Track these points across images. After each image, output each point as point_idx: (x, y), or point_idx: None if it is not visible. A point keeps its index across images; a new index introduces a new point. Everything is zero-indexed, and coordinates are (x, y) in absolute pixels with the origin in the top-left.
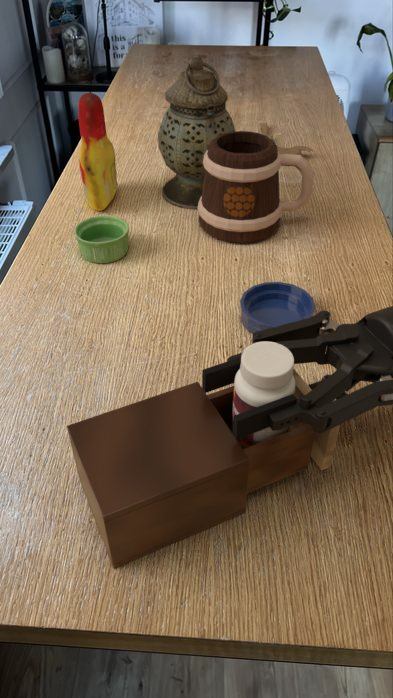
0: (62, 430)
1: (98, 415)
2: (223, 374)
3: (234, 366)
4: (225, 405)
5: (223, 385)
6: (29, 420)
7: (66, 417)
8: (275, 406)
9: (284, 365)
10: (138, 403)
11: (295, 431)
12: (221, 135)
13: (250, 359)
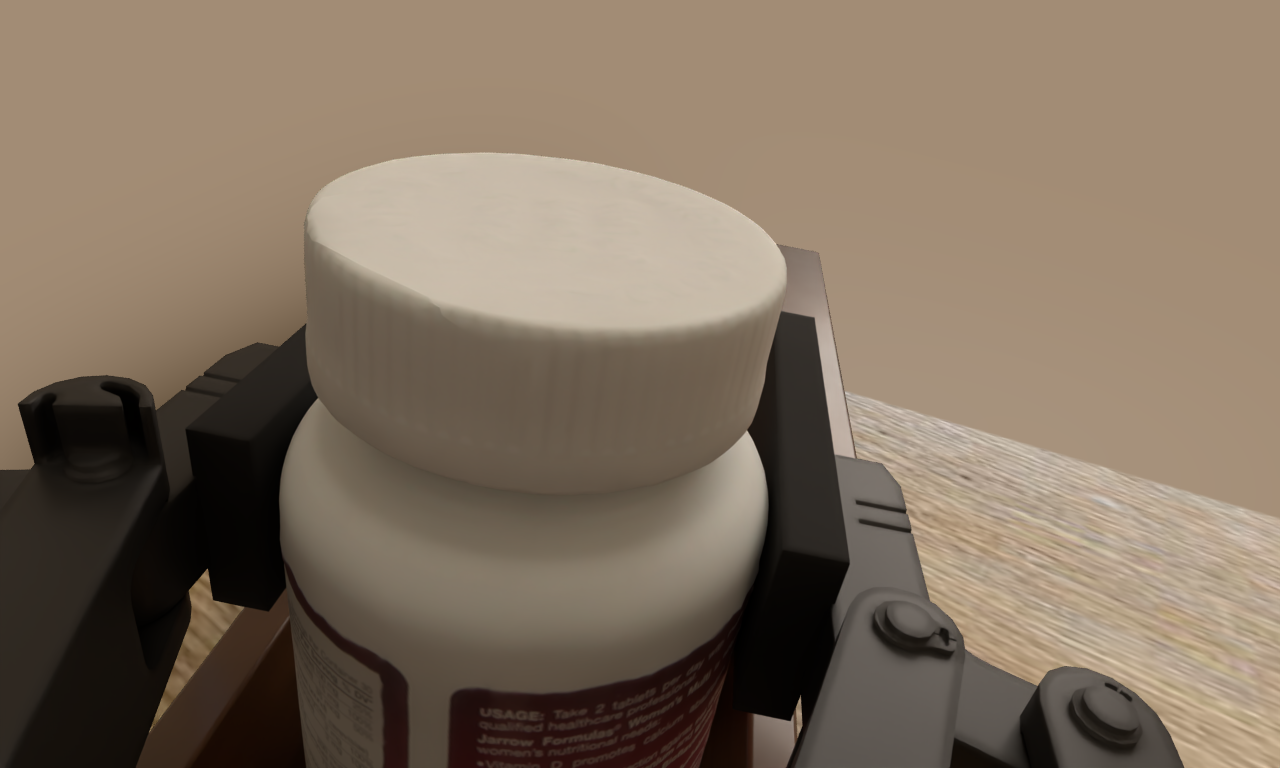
0: (949, 500)
1: (823, 288)
2: (763, 410)
3: (771, 415)
4: (728, 682)
5: None
6: (1008, 470)
7: (999, 525)
8: (294, 334)
9: (381, 218)
10: (827, 347)
11: (204, 711)
12: None
13: (629, 190)
